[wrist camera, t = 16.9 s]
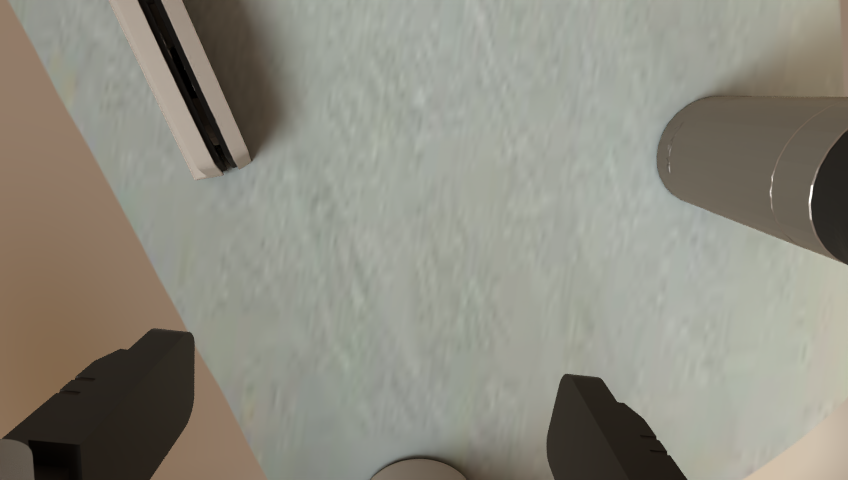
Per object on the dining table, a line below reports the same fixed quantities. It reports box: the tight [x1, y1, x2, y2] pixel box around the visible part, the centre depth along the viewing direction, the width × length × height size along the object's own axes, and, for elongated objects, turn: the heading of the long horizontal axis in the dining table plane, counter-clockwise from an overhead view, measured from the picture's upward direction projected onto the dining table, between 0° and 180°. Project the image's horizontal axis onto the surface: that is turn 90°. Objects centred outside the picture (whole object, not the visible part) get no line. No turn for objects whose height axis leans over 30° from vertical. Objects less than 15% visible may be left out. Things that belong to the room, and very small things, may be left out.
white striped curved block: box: [109, 0, 251, 180], centre depth 36 cm, size 17×5×10 cm, turn 19°
